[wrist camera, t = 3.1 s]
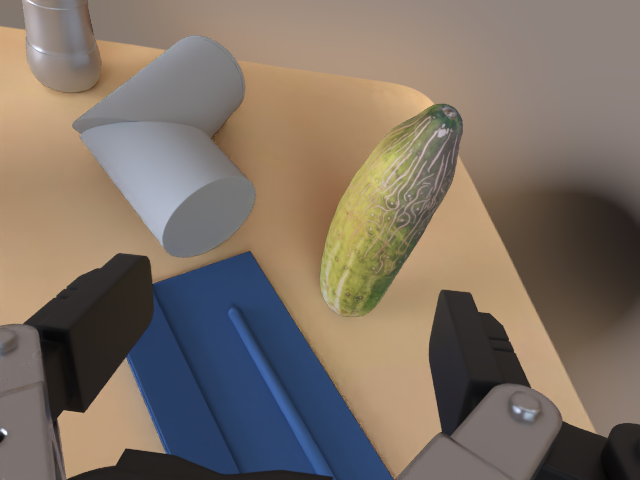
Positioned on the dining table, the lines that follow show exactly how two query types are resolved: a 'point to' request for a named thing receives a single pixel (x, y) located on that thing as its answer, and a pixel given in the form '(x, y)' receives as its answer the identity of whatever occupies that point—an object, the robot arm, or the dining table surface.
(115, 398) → the dining table surface
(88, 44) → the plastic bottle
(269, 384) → the blue rectangular panel
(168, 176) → the elbow connector
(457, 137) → the vegetable
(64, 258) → the dining table surface
